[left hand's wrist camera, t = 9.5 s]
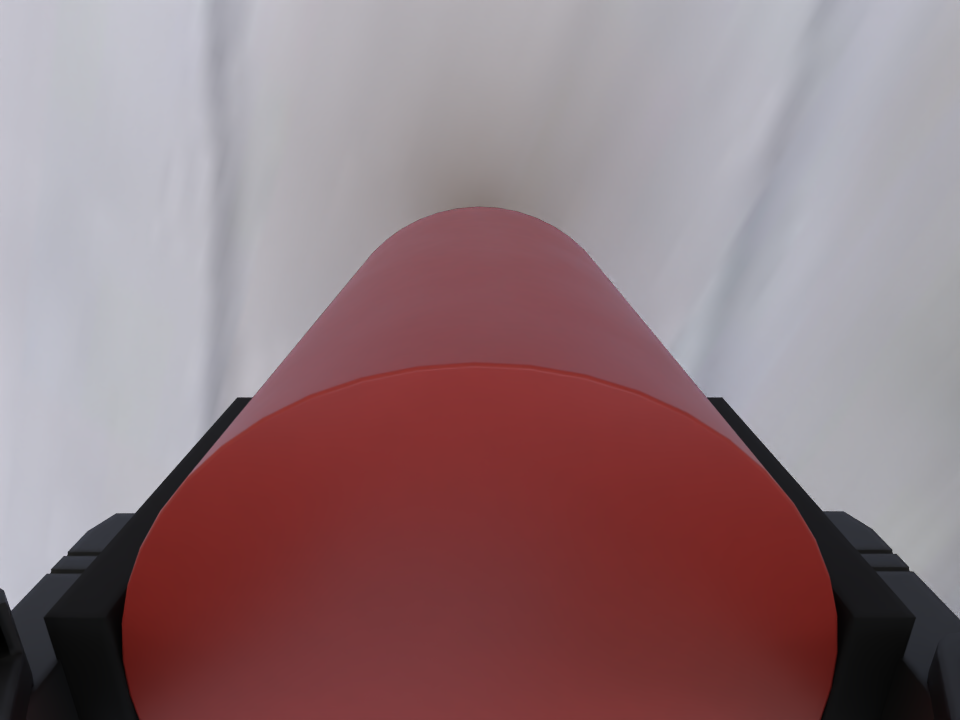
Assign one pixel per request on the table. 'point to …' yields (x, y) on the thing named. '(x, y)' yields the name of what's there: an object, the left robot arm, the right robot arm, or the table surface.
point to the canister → (479, 517)
